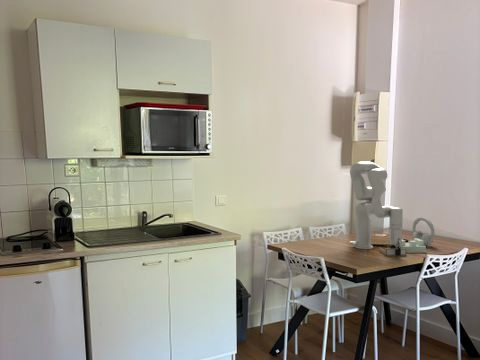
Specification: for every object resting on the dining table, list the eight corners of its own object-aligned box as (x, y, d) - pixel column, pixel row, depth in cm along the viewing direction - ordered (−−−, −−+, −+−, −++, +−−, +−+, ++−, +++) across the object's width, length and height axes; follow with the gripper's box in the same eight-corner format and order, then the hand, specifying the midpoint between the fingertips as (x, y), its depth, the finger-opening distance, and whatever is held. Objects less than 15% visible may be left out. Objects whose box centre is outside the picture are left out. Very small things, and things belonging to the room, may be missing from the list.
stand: (395, 248, 267) (396, 238, 267) (417, 248, 267) (417, 238, 266) (402, 252, 255) (403, 242, 255) (425, 252, 255) (425, 242, 254)
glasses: (379, 250, 260) (379, 244, 260) (398, 250, 260) (398, 244, 260) (385, 255, 247) (386, 248, 247) (406, 255, 247) (406, 248, 247)
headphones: (437, 247, 268) (438, 219, 266) (428, 248, 265) (428, 220, 264) (417, 242, 286) (418, 215, 285) (408, 242, 283) (409, 216, 282)
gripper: (385, 224, 256) (384, 250, 257) (395, 229, 239) (394, 257, 240) (396, 224, 256) (396, 250, 257) (407, 229, 238) (406, 257, 239)
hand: (395, 253), depth 248 cm, fingers open, 7 cm apart
